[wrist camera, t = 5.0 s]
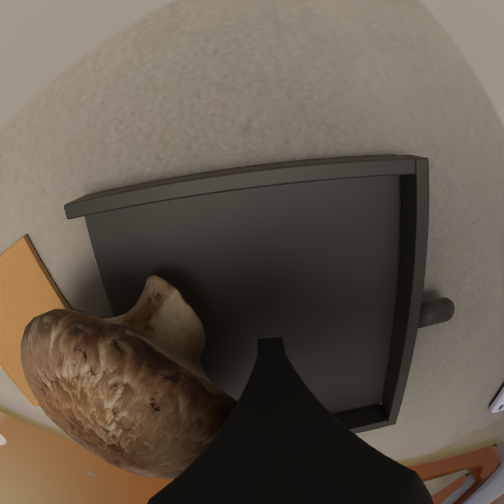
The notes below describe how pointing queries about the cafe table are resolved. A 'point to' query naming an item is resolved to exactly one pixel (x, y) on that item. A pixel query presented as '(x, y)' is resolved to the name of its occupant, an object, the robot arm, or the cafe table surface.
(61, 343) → the mushroom
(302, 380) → the robot arm
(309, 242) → the pan
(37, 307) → the mat
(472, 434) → the cafe table surface
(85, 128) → the cafe table surface
